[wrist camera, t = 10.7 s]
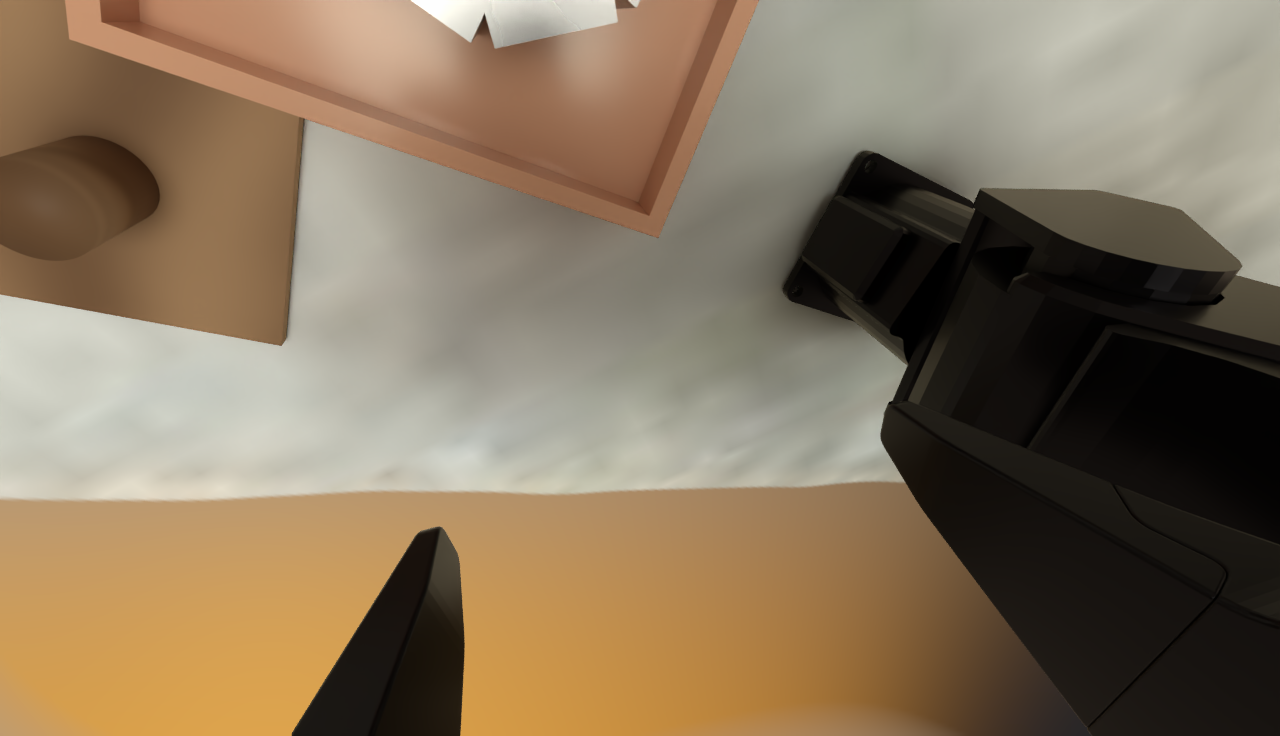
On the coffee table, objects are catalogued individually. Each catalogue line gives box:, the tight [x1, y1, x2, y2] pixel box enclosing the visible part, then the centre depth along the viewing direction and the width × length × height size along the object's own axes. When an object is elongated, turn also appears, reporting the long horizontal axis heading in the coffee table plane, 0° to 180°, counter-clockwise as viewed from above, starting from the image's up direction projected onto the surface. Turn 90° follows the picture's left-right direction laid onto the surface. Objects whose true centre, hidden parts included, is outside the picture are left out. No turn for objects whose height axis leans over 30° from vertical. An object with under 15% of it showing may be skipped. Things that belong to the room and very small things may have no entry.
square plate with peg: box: [0, 0, 304, 346], centre depth 14 cm, size 9×9×4 cm
